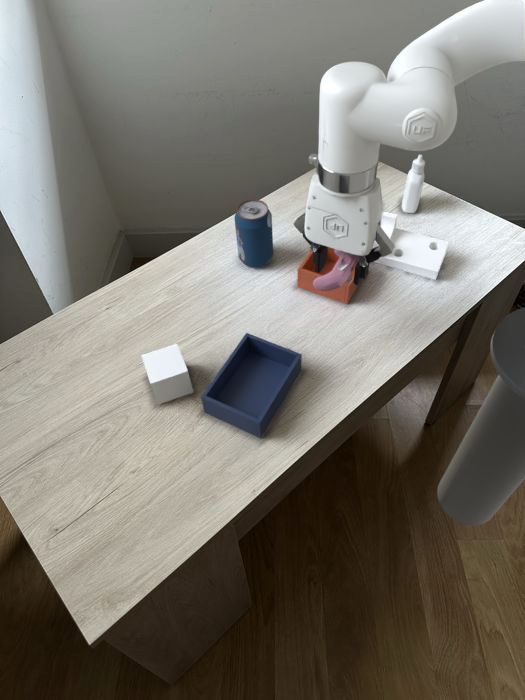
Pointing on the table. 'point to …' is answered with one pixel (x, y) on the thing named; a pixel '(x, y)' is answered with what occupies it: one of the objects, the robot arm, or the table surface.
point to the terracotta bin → (309, 275)
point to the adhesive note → (167, 373)
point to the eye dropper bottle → (413, 186)
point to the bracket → (412, 250)
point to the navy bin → (252, 384)
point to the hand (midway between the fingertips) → (340, 272)
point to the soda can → (254, 233)
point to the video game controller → (337, 272)
